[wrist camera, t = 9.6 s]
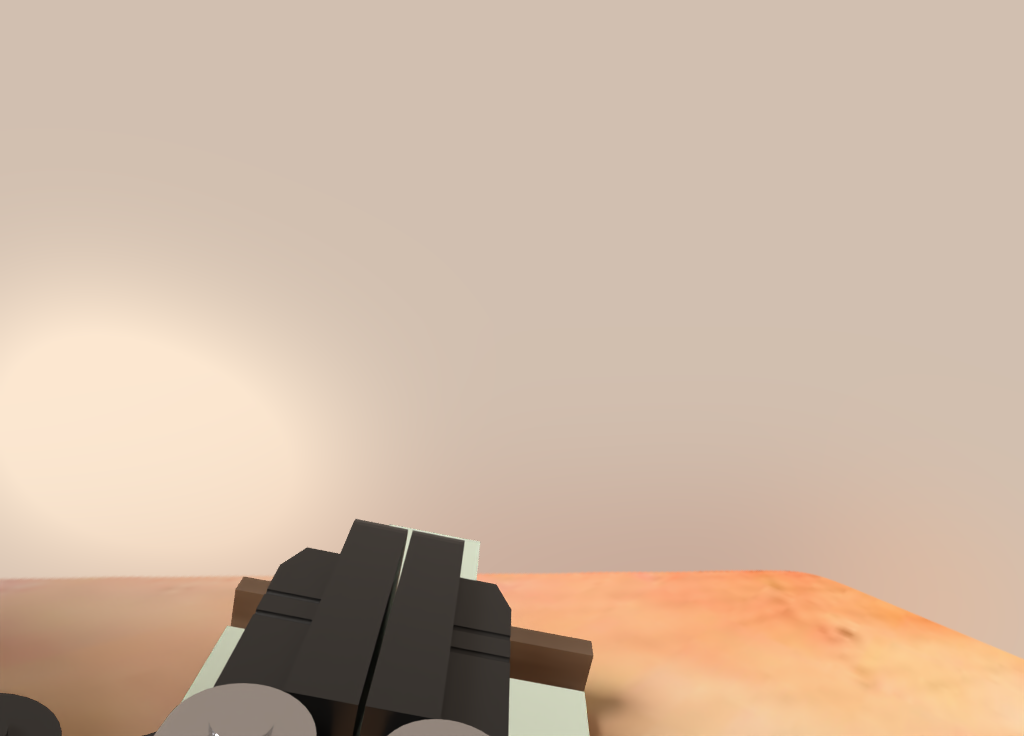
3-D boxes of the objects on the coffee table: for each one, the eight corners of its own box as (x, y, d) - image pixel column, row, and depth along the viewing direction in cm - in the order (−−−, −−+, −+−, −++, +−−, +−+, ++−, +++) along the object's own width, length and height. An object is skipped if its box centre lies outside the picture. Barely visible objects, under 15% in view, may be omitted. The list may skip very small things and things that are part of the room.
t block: (522, 1034, 27) (594, 782, 24) (148, 972, 26) (178, 706, 23) (522, 746, 39) (569, 558, 36) (270, 700, 39) (298, 506, 36)
